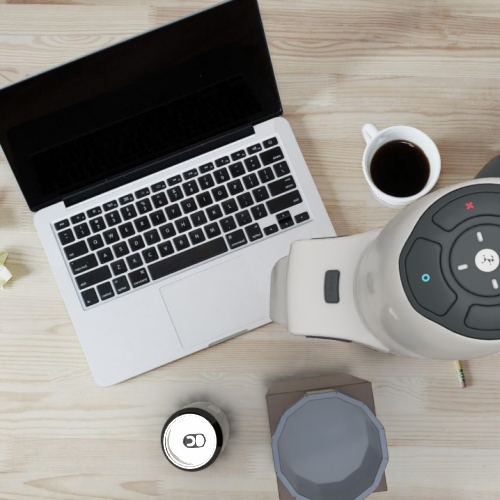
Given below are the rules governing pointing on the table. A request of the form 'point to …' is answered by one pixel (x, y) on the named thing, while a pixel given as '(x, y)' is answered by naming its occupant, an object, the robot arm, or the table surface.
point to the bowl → (329, 447)
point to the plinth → (291, 389)
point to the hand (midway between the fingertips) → (390, 305)
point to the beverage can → (195, 436)
